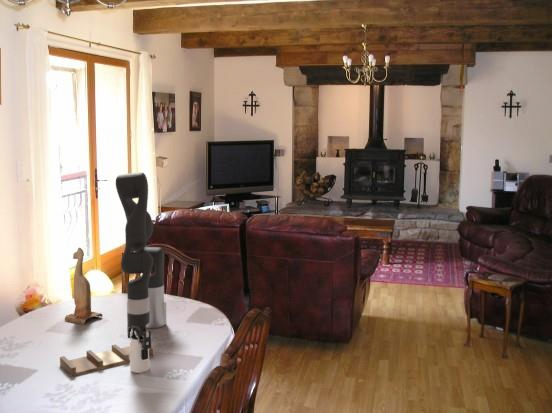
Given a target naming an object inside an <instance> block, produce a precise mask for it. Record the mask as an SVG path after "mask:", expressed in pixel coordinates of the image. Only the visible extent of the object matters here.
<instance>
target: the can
mask: <svg viewBox="0 0 552 413" xmlns="http://www.w3.org/2000/svg"><path fill="white" fill-rule="evenodd" d="M140 340H143V339H140ZM129 346H130V362H129V364H130V365H129V367H130V368H129V369H130V371H131V373H133V374H143V373H146V372H148V371H149V370H150V357H149V349H148V359H145V360H142V359H141V346H140V344H139V343H138V341H137V338H135V337H134V335H133V336H131V339H130V338H129Z"/></svg>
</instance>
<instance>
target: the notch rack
mask: <svg viewBox="0 0 552 413" xmlns="http://www.w3.org/2000/svg"><path fill="white" fill-rule="evenodd" d="M85 351H86V356H81V357H77V358H72V359H68V358H67V357H66V356H65V355H63V356H60V357H59V364H60V367H62V369H64V370H65V371H66V373H67V374H68V375H69V376H70V377H76V376H80V375H84V374H88V373H93V372H97V371H100V370H101V371H102V370H105V369H108V368H113V367H116V366H117V367H118V366H121V365H125V364H130V345H128V346H125V347H124V346H123V347H120V346H119V345H117V344H111V349H110V350H107V351H101V352H97V353H95V352H93V351H92V350H91V349H90V350H85ZM153 357H154V348H153V347H152V346H151V348H149V358H153Z"/></svg>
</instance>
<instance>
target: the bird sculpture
mask: <svg viewBox="0 0 552 413" xmlns="http://www.w3.org/2000/svg"><path fill="white" fill-rule="evenodd" d="M84 255H85V254H84V250H83V249H82V248H81V247H78V248H77V250H76V251H75V252H74V253H73V255H72V259H73V260H77V262H76V264H75V269H74V275H73V300H74V305H75V308H74V311H73V313H70V314H67V315H65V317H64V321H65V322H69V323H74V324H77V325H84V326H85V323H86V321H87V320H88V319H90V318H93V317H101V318H103V313H101V312H96V311H92V291H91V284H90V282H89V280H88V279H87V278H86V276H85V275H84V274H83V273H84V272H83V264H84Z"/></svg>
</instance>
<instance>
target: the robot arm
mask: <svg viewBox="0 0 552 413" xmlns="http://www.w3.org/2000/svg"><path fill="white" fill-rule="evenodd" d="M115 188H116V192H117V195H118V198H119V201H120V202H121V206H122V208H123V211H124V213H125V214H124V215H125V219H126V224H125V230H124V232H125V245H124V246H125V247H124V252H123V255H122V257H121V261H120V269H121V271H122V272H123V273H124V274H127V275H130V274H131V275H134V274H135V275H136V274H142V275H141V276H139V277H137V278H133V279H131V280H129V281H128V282H127V285H126V290H127V292H126V294H127V299H126V300H127V301H126V313H127V315H126V319H127V326H126V327H127V339H129V340H130V339H131V336H133V335H134V337H135V338H137V341H138V343H139V344H140V346H141V359H142V360H145V359H148V349H149V348H151V347H152V332H151V330H147V329H157V328H161V327H163V326H165V325H167V324H168V323H167V322H168V321H167V302H165V284H164V283H165V281H164V278H165V276H164V275H165V270H164V269H165V252H164V249H163V248H162V247H159V246H158V247H157V246H156V247H155V246H152V247H151V246H147V241H149V239H150V238H151V236H152V235H153V231H154V224H153V220H152V217H151V216H152V215H151V214H150V213H149V212H148V202H149V201H148V200H149V199H148V198H149V184H148V179H147V176H146V174H145V173H144V172H131V173H123V174H119V175H117V176H116V178H115ZM133 199H137V202H135V201H134V200H133ZM152 270H154V272H153V273H152ZM151 273H152V274H151ZM140 339H143V340H140Z"/></svg>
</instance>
